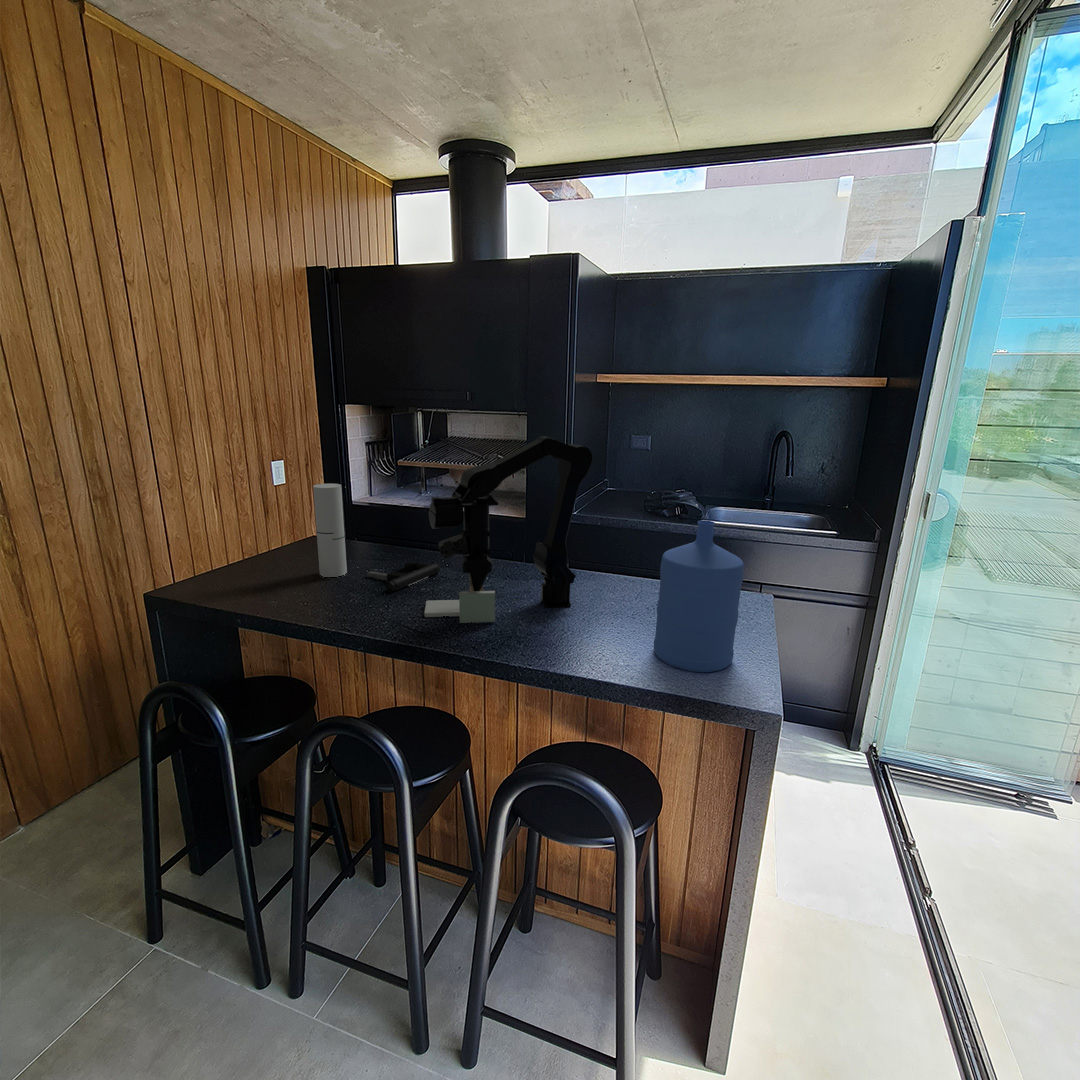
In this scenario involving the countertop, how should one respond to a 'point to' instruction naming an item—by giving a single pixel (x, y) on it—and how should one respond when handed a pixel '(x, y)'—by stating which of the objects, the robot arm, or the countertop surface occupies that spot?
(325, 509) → the cylindrical container
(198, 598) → the countertop surface
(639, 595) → the countertop surface
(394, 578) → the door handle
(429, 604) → the grey flat plate
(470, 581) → the stick
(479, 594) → the tile
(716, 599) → the water jug
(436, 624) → the countertop surface
